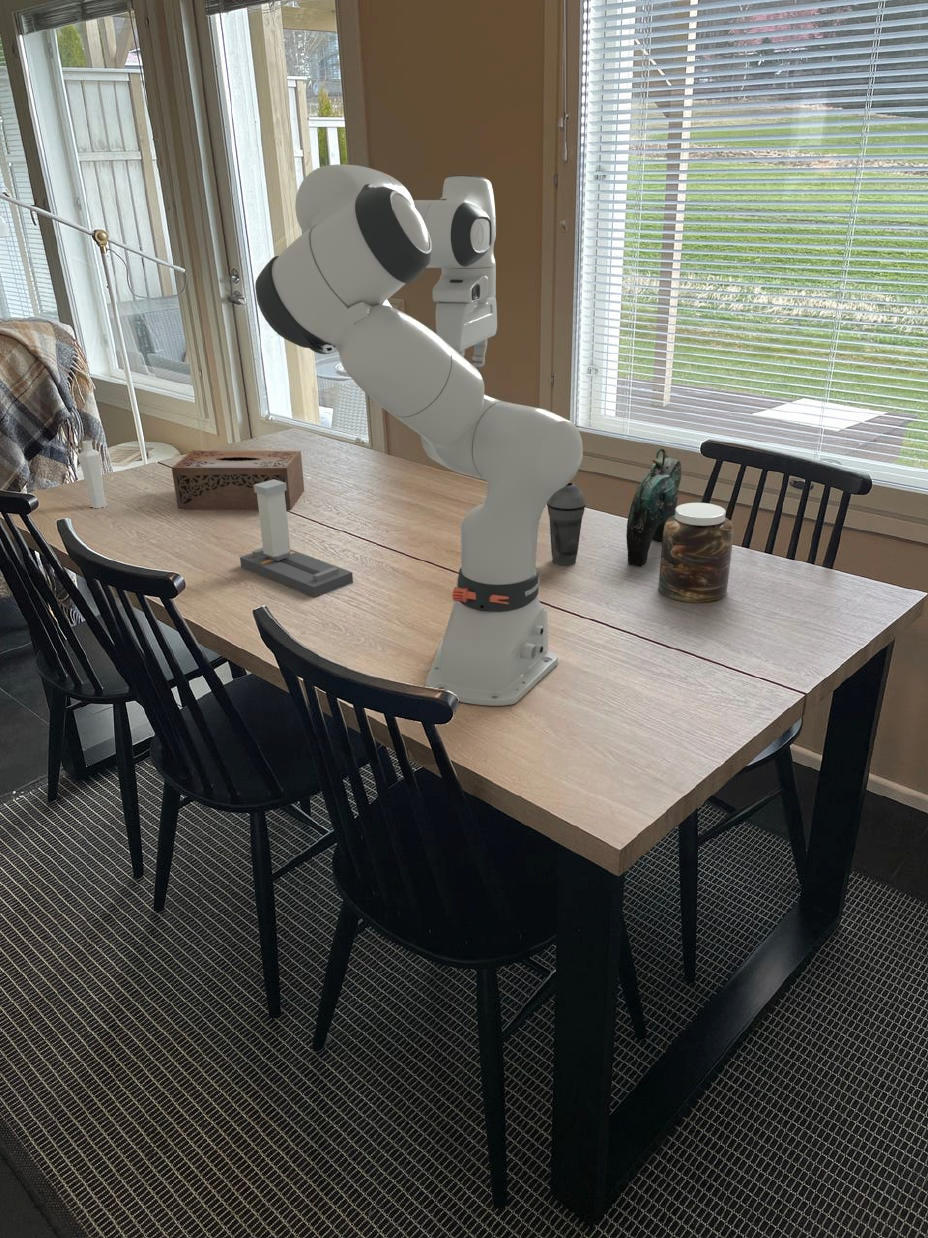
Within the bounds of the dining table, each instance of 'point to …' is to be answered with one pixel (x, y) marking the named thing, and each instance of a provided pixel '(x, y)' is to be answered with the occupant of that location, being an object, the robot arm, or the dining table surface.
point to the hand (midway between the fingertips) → (469, 371)
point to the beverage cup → (565, 523)
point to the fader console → (298, 572)
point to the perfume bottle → (92, 475)
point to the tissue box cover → (234, 478)
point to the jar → (696, 553)
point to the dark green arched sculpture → (652, 507)
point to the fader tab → (273, 519)
